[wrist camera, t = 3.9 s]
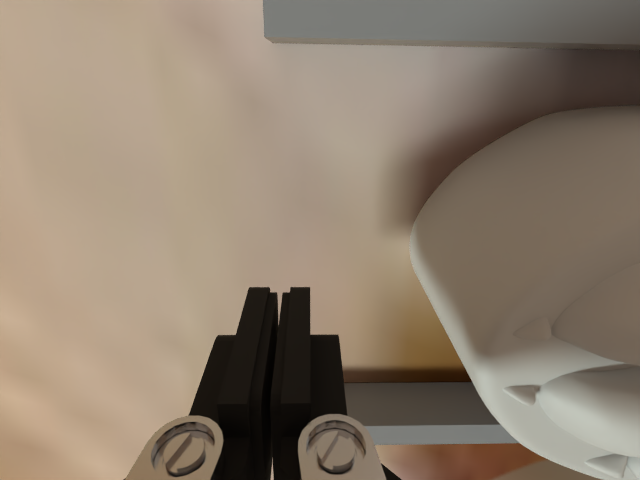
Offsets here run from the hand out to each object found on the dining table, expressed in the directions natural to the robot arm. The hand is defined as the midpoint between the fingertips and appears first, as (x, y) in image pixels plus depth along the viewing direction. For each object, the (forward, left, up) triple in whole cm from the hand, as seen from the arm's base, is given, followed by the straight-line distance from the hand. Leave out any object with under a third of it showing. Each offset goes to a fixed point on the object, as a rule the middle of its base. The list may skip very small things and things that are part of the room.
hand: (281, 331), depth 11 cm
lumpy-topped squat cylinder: (-11, -1, -6) cm, 13 cm away
